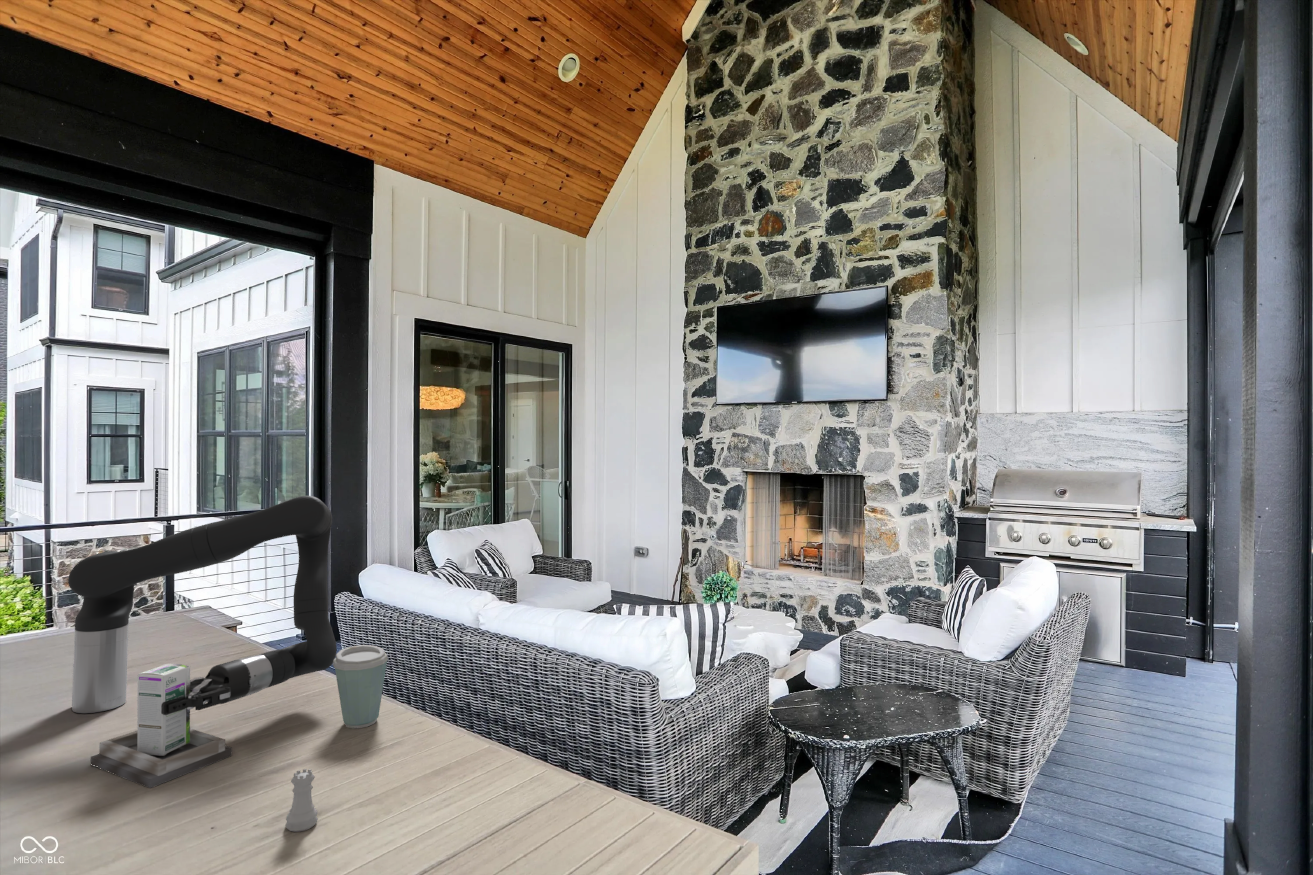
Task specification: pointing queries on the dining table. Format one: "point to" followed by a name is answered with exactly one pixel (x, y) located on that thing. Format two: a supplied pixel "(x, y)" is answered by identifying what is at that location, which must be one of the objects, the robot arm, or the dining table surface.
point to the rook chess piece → (302, 803)
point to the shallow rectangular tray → (158, 758)
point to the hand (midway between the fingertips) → (151, 705)
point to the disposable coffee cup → (360, 683)
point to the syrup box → (153, 726)
